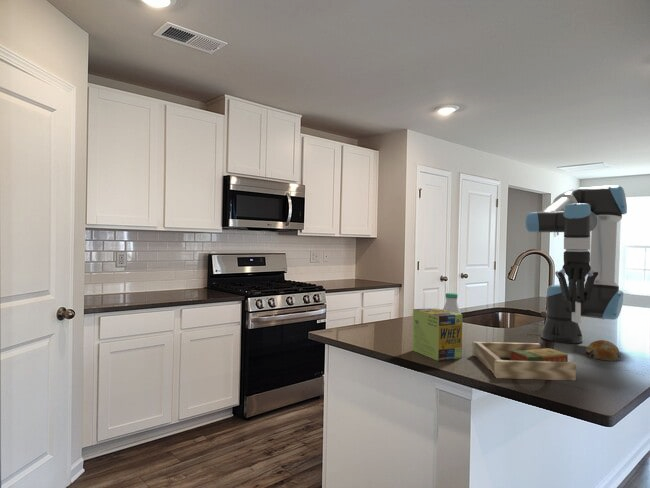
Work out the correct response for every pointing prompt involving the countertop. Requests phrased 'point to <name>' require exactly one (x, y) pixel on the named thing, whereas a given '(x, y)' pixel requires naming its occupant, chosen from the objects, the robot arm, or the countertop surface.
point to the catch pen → (520, 362)
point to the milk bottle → (451, 303)
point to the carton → (539, 355)
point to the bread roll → (603, 351)
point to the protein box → (437, 333)
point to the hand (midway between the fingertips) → (576, 321)
